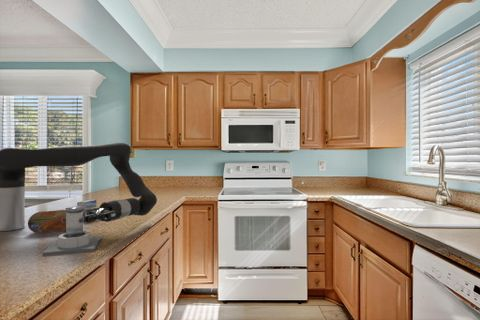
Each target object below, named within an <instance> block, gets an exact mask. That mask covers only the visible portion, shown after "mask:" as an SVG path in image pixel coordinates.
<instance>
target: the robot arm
mask: <svg viewBox="0 0 480 320" xmlns="http://www.w3.org/2000/svg"><path fill="white" fill-rule="evenodd" d="M131 152H132V147H131V146H130V145H129V144H127V143H125V142H110V143H104V144H103V143H102V144H89V145H62V146H61V145H59V146H50V147H44V148H18V147H17V148H16V147H4V148H1V149H0V232H8V231H9V232H11V231H16V230H20V229H23V228H25V227H26V226H25V225H26V224H25V222H26V220H25V217H26V214H25V211H26V210H25V206H26V204H25V203H26V202H25V200H26V199H25V198H26V197H25V196H26V195H25V194H26V187H25V186H26V185H25V184H26V169H28V168H36V167H37V168H38V167H49V168H50V167H51V168H52V167H57V168H61V167H62V168H68V167H77V166H82V165H86V164H87V163H89V162H91V161H93V160H96V159H99V158H101V157H102V158H103V157H109V162H110V163H111V165H112V166H113V167H114V168H115V170H116V172H118V174H119V175H120V176H121V178H122V179H123V181H124V183H125V184H126V187H127V189H128V190H129V192H130V194H131V196H132V197H130V198H122V199H120V198H119V199H113V200H109V201H103V202H102V203H101V204H100V205H99V206H98V207H95V208H86V209H84V211H83V218H84V220H83V223H90V222H91V223H92V222H94V221H95V222H99V221H101V222H106V223H109V222H113V221H117V220H121V219H124V218H126V217H131V216H141V217H142V216H145V215H148V214H149V213H150V212H151V211H152V210H153V208H154V207H155V206H156V204H157V202H158V197H157V196H156V194H155V193H154V192H153V191H152V190H150V189H149V188H148V187H147V186H146V184H145V182H144V180H143V179H142V177H141V176H140V175H139V174H138V173H137V172H135V171H133V169H132V167H131V165H130V159H131ZM137 198H139V199H137Z"/></svg>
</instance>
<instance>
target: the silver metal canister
mask: <svg viewBox="0 0 480 320" xmlns="http://www.w3.org/2000/svg"><path fill="white" fill-rule="evenodd" d="M64 210H65V212H66V230H65V233H66V238H70V237H79V236H83V231H84V220H83V211H84V207H82V206H77V205H76V206H67V207H66V208H64Z"/></svg>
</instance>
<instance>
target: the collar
mask: <svg viewBox="0 0 480 320" xmlns="http://www.w3.org/2000/svg"><path fill="white" fill-rule="evenodd" d="M100 241H101V235H99V236H98V235H97V236H91V232H90V231H86V230H83V236H79V237H70V238H66V232H65V233H60V234H59V235H58V236H57V238H56V239H55V240H54V241H53V242H52V243H51V244H50V245H49V246H48V247H46V249H45V250H44V251H43V252H42V256H44V257H45V256H53V255H54V256H56V255H67V254H78V253H89V252H95V251H96V248H97V247H98V245H99V243H100Z"/></svg>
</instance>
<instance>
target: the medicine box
mask: <svg viewBox="0 0 480 320" xmlns="http://www.w3.org/2000/svg"><path fill="white" fill-rule="evenodd" d="M76 206H82V207H84V209H86V208H95V207H97V199H87V200H86V199H85V200H82V201H77V203H76ZM83 221H84V218H83Z"/></svg>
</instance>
